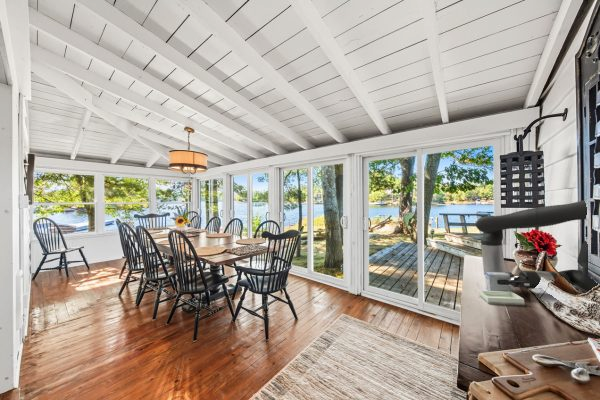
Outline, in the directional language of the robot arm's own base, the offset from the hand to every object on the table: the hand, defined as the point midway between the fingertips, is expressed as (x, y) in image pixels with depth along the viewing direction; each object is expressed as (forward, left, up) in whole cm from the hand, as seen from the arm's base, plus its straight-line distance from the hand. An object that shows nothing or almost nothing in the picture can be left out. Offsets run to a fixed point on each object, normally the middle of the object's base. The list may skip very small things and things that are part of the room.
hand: (492, 279), depth 108 cm
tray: (+10, -2, -6) cm, 12 cm away
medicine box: (0, +2, -6) cm, 7 cm away
